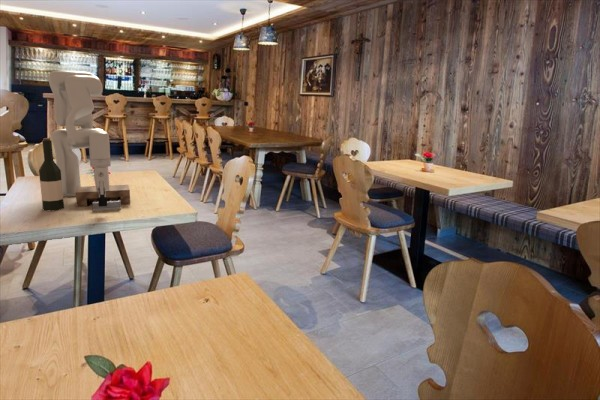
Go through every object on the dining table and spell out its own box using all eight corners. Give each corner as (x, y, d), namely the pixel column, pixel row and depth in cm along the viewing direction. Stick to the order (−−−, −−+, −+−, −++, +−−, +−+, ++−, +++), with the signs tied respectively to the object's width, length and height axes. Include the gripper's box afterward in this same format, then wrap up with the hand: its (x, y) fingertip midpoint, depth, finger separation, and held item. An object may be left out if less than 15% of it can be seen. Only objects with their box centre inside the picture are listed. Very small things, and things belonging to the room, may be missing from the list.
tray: (93, 212, 188) (92, 203, 187) (94, 203, 202) (93, 194, 201) (121, 210, 192) (120, 201, 191) (120, 201, 206) (119, 193, 205)
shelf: (76, 206, 193) (75, 192, 191) (78, 200, 204) (77, 186, 202) (130, 203, 202) (129, 189, 200) (128, 197, 212) (128, 184, 211)
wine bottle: (49, 211, 184) (41, 140, 177) (38, 208, 188) (30, 138, 181) (68, 208, 191) (62, 138, 184) (57, 204, 195) (51, 137, 188)
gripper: (110, 165, 172) (113, 210, 177) (110, 158, 185) (112, 200, 190) (89, 166, 169) (92, 211, 174) (90, 159, 182) (93, 201, 187)
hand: (102, 205), depth 182 cm, fingers closed
